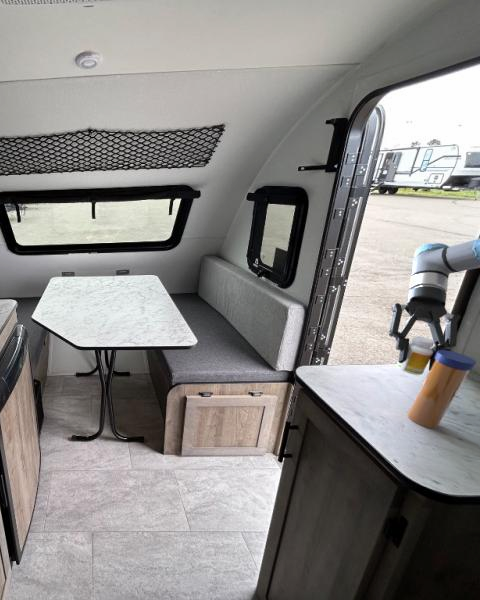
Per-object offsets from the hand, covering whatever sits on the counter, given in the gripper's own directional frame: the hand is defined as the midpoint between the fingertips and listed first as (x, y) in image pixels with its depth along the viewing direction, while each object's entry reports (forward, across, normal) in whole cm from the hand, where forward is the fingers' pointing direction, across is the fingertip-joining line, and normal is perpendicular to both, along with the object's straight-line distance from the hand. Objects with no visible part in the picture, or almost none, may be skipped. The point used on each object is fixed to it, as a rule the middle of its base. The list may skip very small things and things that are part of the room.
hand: (417, 365), depth 86 cm
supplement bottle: (0, 0, -5) cm, 5 cm away
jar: (+14, -3, -3) cm, 14 cm away
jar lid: (0, -3, +10) cm, 11 cm away
